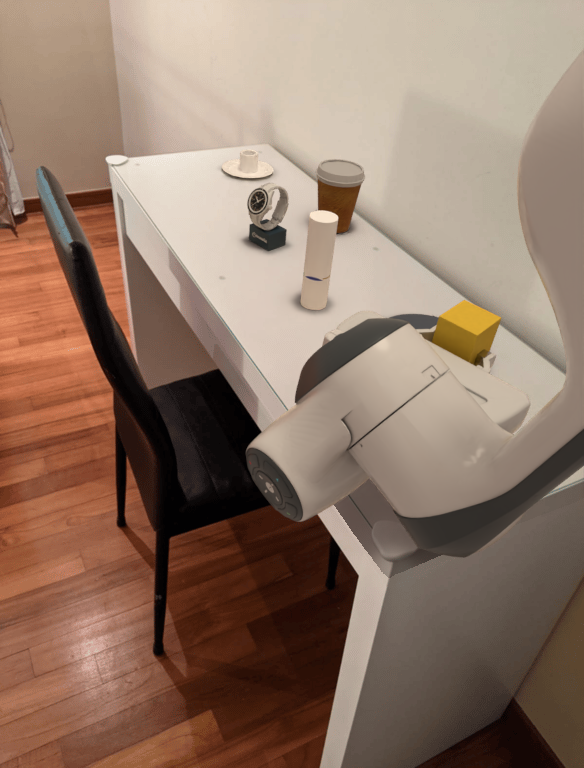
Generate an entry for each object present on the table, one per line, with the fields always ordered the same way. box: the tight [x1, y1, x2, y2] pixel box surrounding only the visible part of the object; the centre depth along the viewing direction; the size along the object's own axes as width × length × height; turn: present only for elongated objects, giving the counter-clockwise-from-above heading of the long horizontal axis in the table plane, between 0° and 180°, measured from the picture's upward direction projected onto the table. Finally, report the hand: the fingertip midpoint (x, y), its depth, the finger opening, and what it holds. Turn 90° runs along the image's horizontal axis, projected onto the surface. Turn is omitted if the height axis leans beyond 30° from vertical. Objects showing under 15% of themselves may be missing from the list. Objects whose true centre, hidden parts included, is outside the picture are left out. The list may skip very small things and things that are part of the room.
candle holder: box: [221, 149, 274, 179], centre depth 141 cm, size 12×12×4 cm
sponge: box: [432, 299, 502, 365], centre depth 65 cm, size 5×4×9 cm
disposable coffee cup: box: [315, 158, 366, 234], centre depth 119 cm, size 10×10×12 cm
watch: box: [246, 182, 290, 252], centre depth 112 cm, size 6×8×11 cm
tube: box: [300, 210, 338, 311], centre depth 95 cm, size 4×4×15 cm
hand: (464, 344), depth 66 cm, fingers closed on sponge, 4 cm apart
